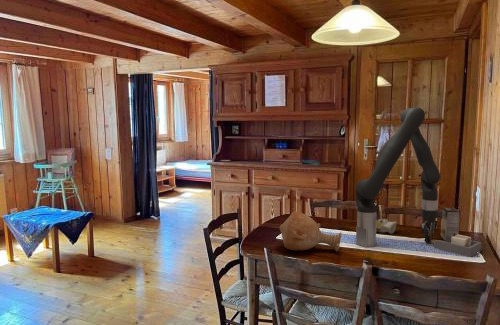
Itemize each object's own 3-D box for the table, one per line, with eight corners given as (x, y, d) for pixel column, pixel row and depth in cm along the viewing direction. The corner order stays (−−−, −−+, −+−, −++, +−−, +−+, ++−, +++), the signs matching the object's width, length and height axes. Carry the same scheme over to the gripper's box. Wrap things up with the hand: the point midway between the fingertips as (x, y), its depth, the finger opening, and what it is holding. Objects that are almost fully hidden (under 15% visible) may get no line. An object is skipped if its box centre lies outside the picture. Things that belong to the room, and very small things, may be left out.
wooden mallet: (464, 252, 171) (464, 240, 170) (422, 242, 187) (423, 231, 186) (470, 249, 175) (471, 237, 175) (429, 239, 191) (429, 228, 190)
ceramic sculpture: (394, 220, 198) (366, 218, 207) (394, 236, 199) (367, 233, 207) (398, 216, 207) (372, 215, 216) (399, 231, 207) (372, 229, 216)
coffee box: (440, 236, 198) (441, 206, 197) (453, 236, 197) (454, 207, 195) (445, 241, 189) (446, 210, 188) (459, 241, 188) (460, 211, 186)
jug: (281, 218, 195) (339, 226, 191) (276, 253, 186) (336, 262, 181) (281, 202, 178) (344, 211, 174) (276, 240, 169) (342, 249, 164)
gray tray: (469, 256, 166) (469, 248, 166) (434, 248, 179) (434, 240, 179) (481, 250, 174) (481, 242, 174) (446, 242, 187) (446, 235, 186)
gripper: (429, 205, 193) (428, 237, 195) (415, 209, 185) (414, 242, 186) (443, 207, 187) (442, 240, 189) (430, 211, 179) (429, 246, 180)
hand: (428, 241), depth 188 cm, fingers closed on wooden mallet, 2 cm apart
